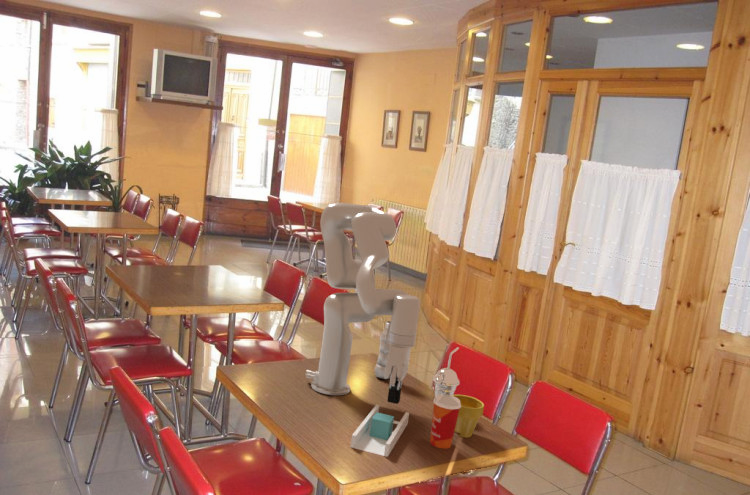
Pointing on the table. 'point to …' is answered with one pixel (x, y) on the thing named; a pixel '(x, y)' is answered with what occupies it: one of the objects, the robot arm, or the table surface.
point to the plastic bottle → (383, 352)
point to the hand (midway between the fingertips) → (393, 401)
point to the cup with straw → (446, 379)
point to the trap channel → (374, 444)
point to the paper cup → (444, 420)
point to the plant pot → (468, 415)
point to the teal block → (381, 426)
